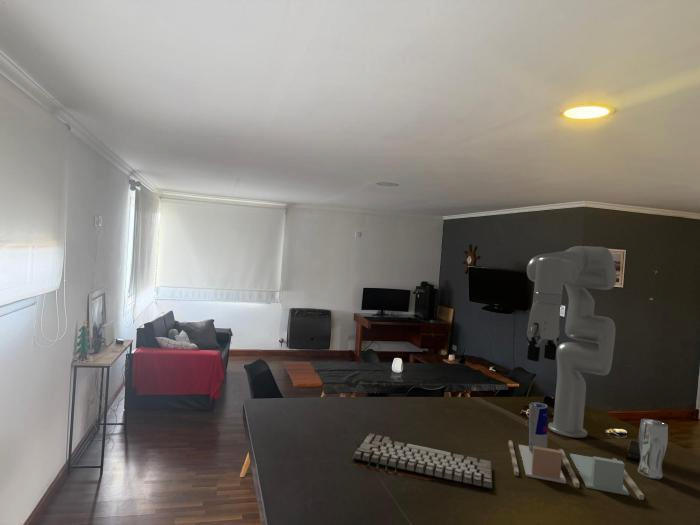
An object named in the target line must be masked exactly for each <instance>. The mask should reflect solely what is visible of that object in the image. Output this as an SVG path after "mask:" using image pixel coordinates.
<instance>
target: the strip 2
mask: <svg viewBox="0 0 700 525" xmlns="http://www.w3.org/2000/svg"><path fill="white" fill-rule="evenodd" d="M569 456H570V458H571V461H572V462H573V464H574V466H575V468H576V470H577V469H578V470H577V472H578V471H579V472H578V474H579V476H580V477H581V479H582V481H583V484H584V485H585V487H586V488H588V489H592V490H598V491H602V492H609V493H612V494H617V495H625V496H630V492H629V491H628V489H627V488H626V486H625V485H624V469H625V465H626V464H625V463H624V462H623V461H622V460H618V459H617V460H612V459H611V458H605V457H601V456H594V455H593V456H587V455H580V454H575V453H569Z"/></svg>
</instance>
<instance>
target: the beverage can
mask: <svg viewBox="0 0 700 525" xmlns="http://www.w3.org/2000/svg"><path fill="white" fill-rule="evenodd" d="M528 405H529V407H528V408H529V409H528V411H529V413H528V414H529V416H528V417H529V418H528V422H529V423H528V430H529V431H528V446H529V451H530V452H531V453H532V454H533V446H537V447H543V448H548V418H549V417H548V416H549V415H548V411H549V410H548V404H546V403H543V402H538V401H535V402H530V403H529V404H528Z"/></svg>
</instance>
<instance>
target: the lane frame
mask: <svg viewBox="0 0 700 525" xmlns="http://www.w3.org/2000/svg"><path fill="white" fill-rule="evenodd" d="M508 448H509V449H508V450H509V453H511V454H510V458H512V459H511V463H512V464H511V465H512V467H513V468H512V469H513V473H514V476H515V477H519V476H520V471H519V470H520V469H519V465H518V463H517V462H518V461H517V457H516V452H515V449H514V444H513V440H512V439H511V440H510V439H509V440H508ZM558 450H560V451H561V452H562V459H563V460H562V463H563V464H564V466H566V467H565V469H566V468H567V469H566V471H567V470H568V471H567V473H568V472H569V473H568V475H569V477H570V479H571V481H572V484H573V487H574V488H578V489H579V488H580V485H581V484H580V481H579V479H578V477H577V475H576V473H575V471H574V469H573V468H572V465H571V463H570V461H569V459H568V458H567V455H566V454H565V451H564V449H563V448H558ZM612 460H618V459H617V458H616V457H612ZM623 480H625V482H626V483H627V485H628V486H629V487H630V488H631V490H632V492H633V493H634V494H635V496H636V497H637V498H638V499H639V500H640V501H641V500H642V501H644V500H645V494H644V493H643V492H642V491H641V489H640V488H639V487H638V485H637V484H636V482H635V481H634V480H633V479H632V477H631V476H630V475H629V474H628V472H627V470H626V469H625V468H624V478H623Z"/></svg>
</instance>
